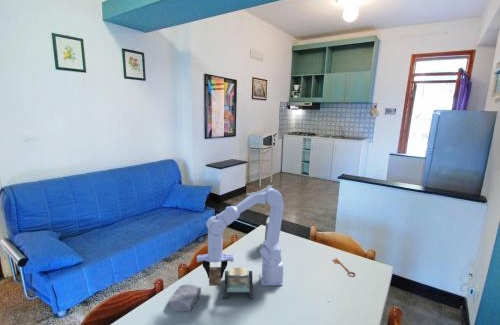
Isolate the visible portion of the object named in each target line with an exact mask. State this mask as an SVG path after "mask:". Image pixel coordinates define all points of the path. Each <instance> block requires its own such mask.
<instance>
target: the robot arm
mask: <svg viewBox="0 0 500 325" xmlns="http://www.w3.org/2000/svg"><path fill="white" fill-rule="evenodd" d="M266 202H267V203H266ZM256 204H260V205H261V204H262V205H266V204H268V205H269V207H270V211H269V216H268V217H269V224H268V231H267V238H266V240H265V239H264V241H263V242H262V246H261V247H260V250H259V254H260V255H261V257H262V260H261V261H262V263H261V273H259V275H260V276H259V277H260V285H261V286H283V285H284V283H283V281H284V280H283V279H284V264H283V261H282V250H281V247H280V246H281V245H280V244H279V242H280V234H281V228H282V221H283V214H284V209H285V203H284V200H283V195H282V193H281V192H280V191H279V190H277V189H276V188H275V189H274V188H273V186H269V187H268V188H267V189H265V190H263V191H261V192H258V193H253V194H248V196H247V197H245V198H244V199H243V200H241V201H240V202H239V203H237V204H236V205H230V206H226V207H225V209H224V210H223V211H221V212H219V213H216V215H213V216H210V217H209V218H208V220H207V221H206V222H205V226H206V227H207V229H208V230H207V253H206V254H205V253H204V254H198V255H197V256H196V262H197V263H201V262H202V267H203V269H204V270H205V272H206V275H207V279H209V270H210V267H211V263H220V262H221V263H220V267H221V279H223V277H224V274H225V271H226V268H227V267H228V262H230V263H234V255H233V254H227V253H223V249H224V248H223V247H224V246H223V241H224V240H223V233H224V231H225V230H226V228H227V227H228V226H229V225H231V224H232V223H233V222H235V221H236V220H237V219H239V218H240V215H241V213H243V212H245V211H246V210H248V209H250V208H252V206H255V205H256Z"/></svg>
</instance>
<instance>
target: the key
mask: <svg viewBox="0 0 500 325" xmlns="http://www.w3.org/2000/svg"><path fill="white" fill-rule="evenodd" d="M332 262H333V263H334V265H341V266H342V268H344V270H345V271H347V276H348V277H349V278H350V277H352V278H354V277H355V276H356V273H355V272H352V271H350V270H349V268H347V267H346V266H345V265H344V264H343V263H342V262H341V261H340V260H339V259H338V258H335V259H332ZM351 274H353V275H351Z"/></svg>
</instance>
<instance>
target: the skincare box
mask: <svg viewBox="0 0 500 325" xmlns="http://www.w3.org/2000/svg"><path fill="white" fill-rule="evenodd" d="M269 217H270V216H268V217H267V219H266V222H265V233H264V241H265V240H266V238H267V231H268V224H269Z"/></svg>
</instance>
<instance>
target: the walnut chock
mask: <svg viewBox="0 0 500 325" xmlns="http://www.w3.org/2000/svg"><path fill="white" fill-rule="evenodd" d="M221 285H222V278H221V266H210V270H209V278H208V286H209V287H213V286H215V287H216V286H217V287H218V286H219V287H220V286H221Z"/></svg>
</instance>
